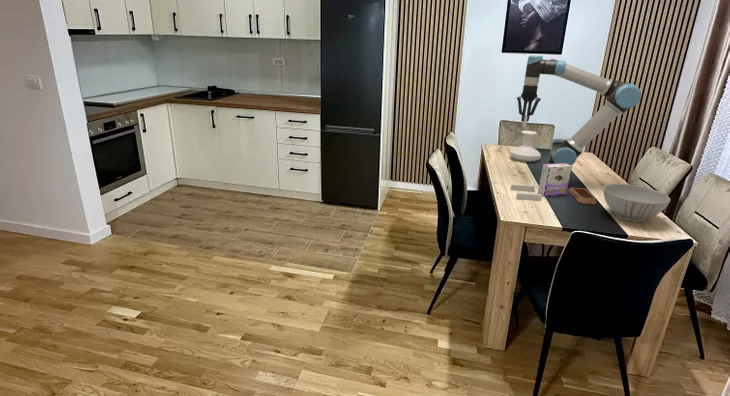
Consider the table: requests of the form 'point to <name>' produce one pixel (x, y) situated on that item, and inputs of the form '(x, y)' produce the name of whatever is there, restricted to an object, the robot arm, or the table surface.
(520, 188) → the walled channel
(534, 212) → the table surface
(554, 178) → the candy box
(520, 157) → the candle holder
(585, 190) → the tray
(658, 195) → the decorative bowl
